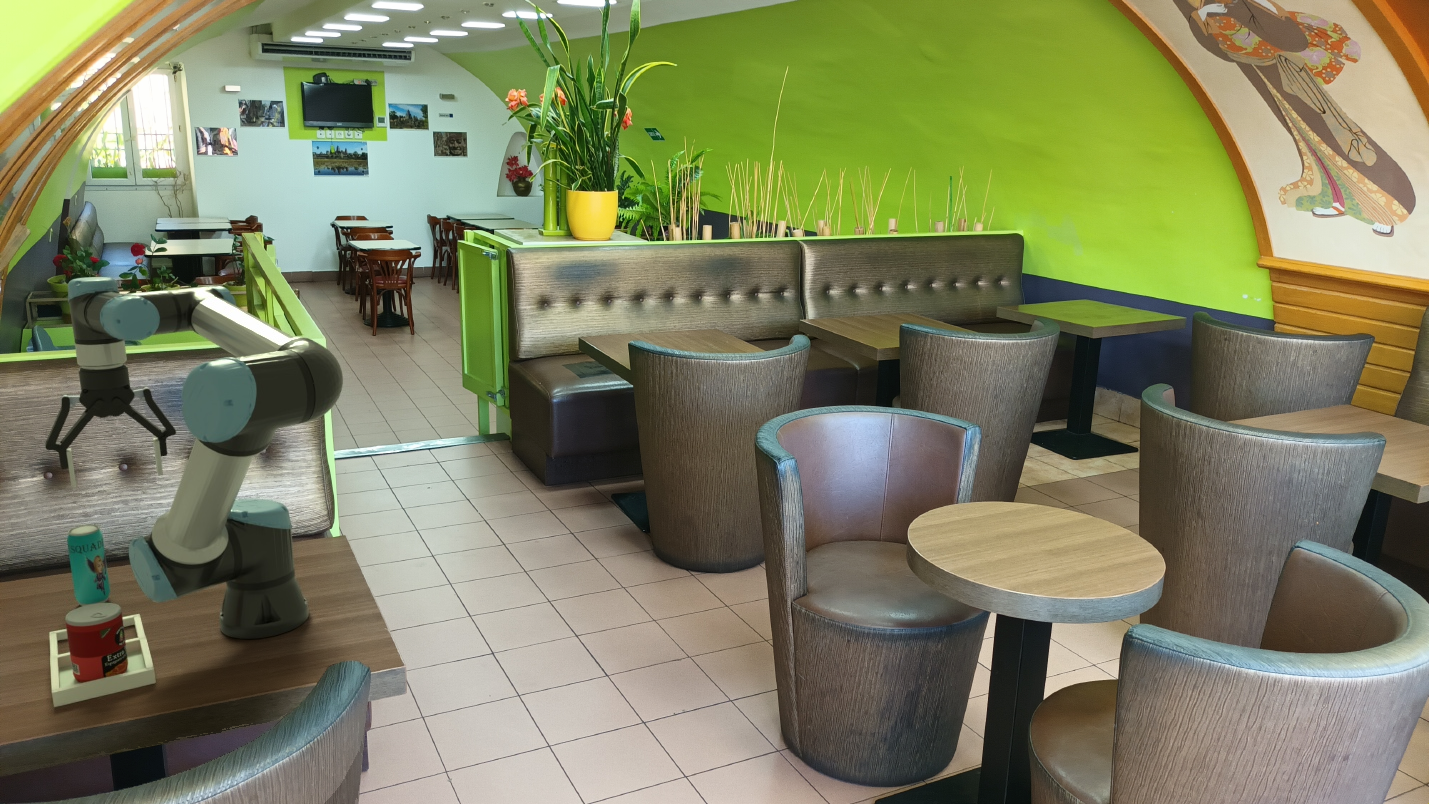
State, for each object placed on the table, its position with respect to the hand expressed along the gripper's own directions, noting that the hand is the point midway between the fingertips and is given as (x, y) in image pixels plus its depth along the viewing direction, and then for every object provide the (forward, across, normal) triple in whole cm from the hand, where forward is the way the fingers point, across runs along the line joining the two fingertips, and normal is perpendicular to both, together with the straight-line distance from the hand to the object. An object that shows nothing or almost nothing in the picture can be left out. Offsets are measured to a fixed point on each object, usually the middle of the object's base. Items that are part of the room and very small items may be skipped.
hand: (117, 479), depth 181 cm
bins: (+27, +6, +17) cm, 32 cm away
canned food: (+26, +7, +24) cm, 36 cm away
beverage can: (+27, +6, -10) cm, 30 cm away
